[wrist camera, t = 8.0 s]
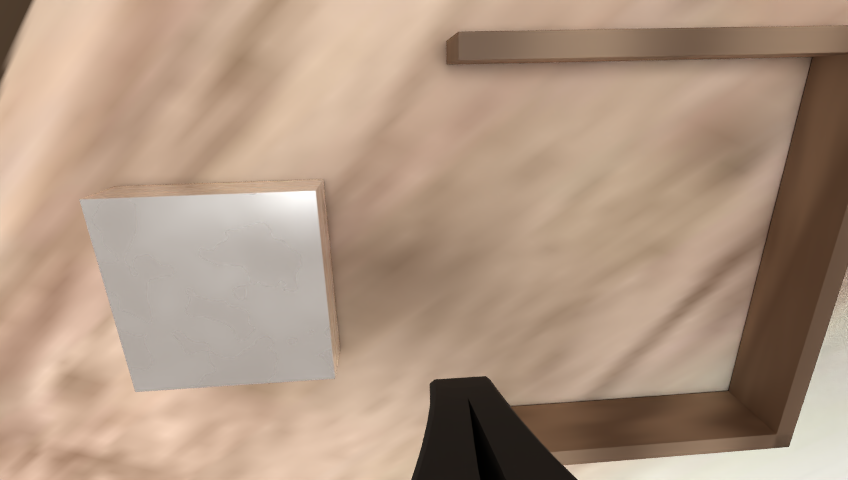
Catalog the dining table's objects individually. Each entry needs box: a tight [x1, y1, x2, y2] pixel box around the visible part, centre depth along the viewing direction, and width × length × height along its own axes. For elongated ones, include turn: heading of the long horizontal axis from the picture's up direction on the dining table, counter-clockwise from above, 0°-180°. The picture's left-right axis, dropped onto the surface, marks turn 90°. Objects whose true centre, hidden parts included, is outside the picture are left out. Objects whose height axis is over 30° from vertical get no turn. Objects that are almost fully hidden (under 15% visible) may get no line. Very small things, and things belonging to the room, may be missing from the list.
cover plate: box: [80, 179, 340, 392], centre depth 18 cm, size 8×8×2 cm
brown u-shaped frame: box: [447, 25, 848, 465], centre depth 18 cm, size 15×18×3 cm
